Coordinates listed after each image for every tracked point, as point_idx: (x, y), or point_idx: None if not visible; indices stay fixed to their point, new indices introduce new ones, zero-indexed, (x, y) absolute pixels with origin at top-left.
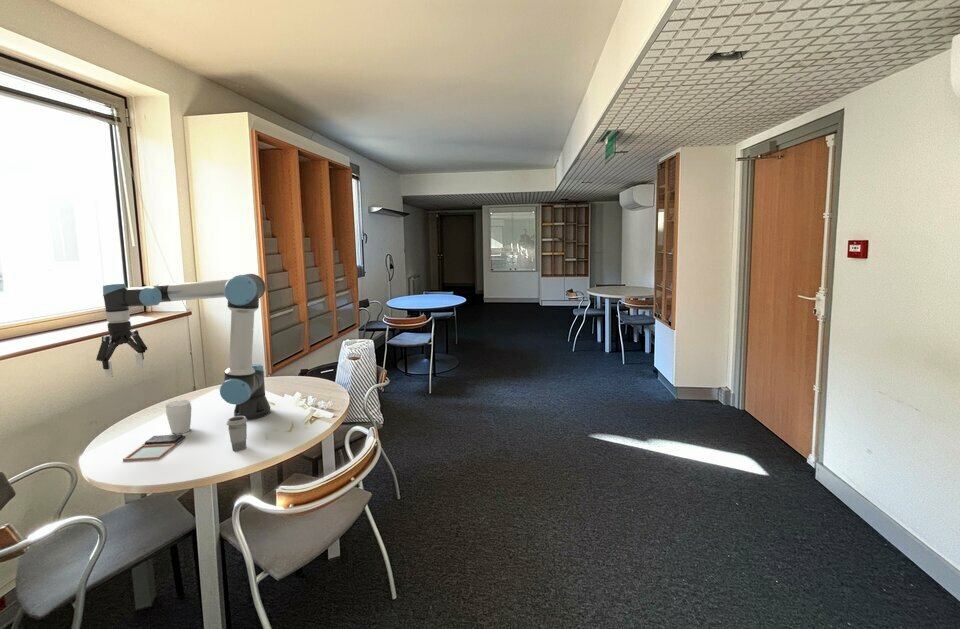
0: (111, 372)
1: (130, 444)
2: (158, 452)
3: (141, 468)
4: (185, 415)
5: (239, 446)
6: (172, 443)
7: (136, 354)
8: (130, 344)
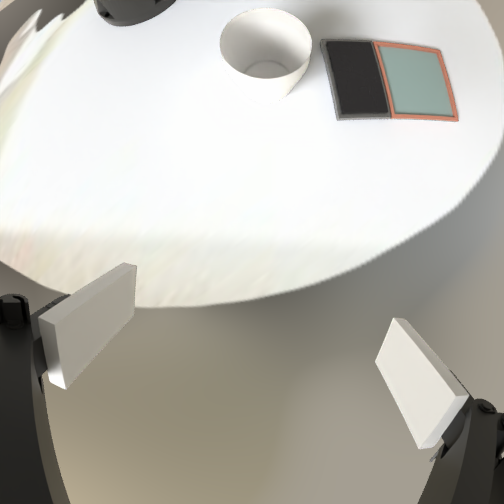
0: (414, 335)
1: (370, 165)
2: (414, 63)
3: (469, 71)
4: (282, 31)
5: None
6: (373, 48)
7: (70, 369)
8: (64, 502)
